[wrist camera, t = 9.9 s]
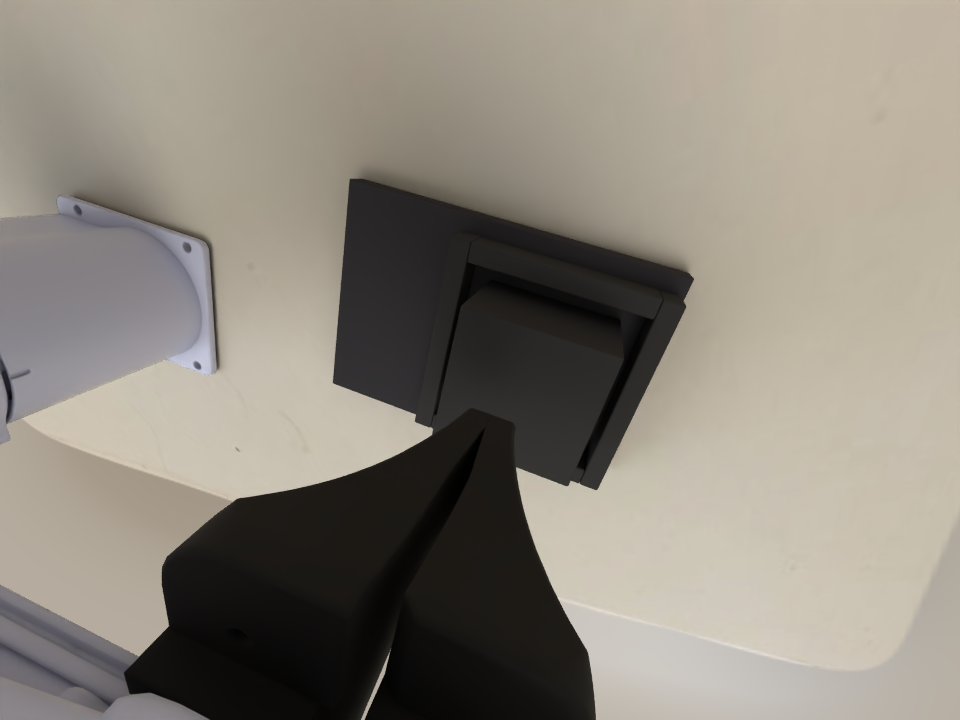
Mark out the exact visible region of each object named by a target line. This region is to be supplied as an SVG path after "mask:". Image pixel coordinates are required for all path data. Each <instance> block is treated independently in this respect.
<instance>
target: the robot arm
mask: <svg viewBox="0 0 960 720" xmlns="http://www.w3.org/2000/svg"><path fill="white" fill-rule="evenodd" d="M56 201H57V207H58V212H59V214H55V215H39V216H23V217H8V218H0V444H2V443H5V442H7V441H9V440H10V439H11V437H10V434H9V432H8V429H7V426H6V424H8V423H11V422H13V421H16V420H18V419H21V418H23V417H26V416H28V415H31V414H33V413H36V412H38V411H40V410H43V409H45V408H48V407H50V406H53V405H55V404H58V403H60V402H62V401H65V400H67V399H70V398H72V397H75V396H77V395H80V394H82V393H85V392H87V391H89V390H92V389H94V388H97V387H99V386H102V385H104V384H107V383H109V382H112V381H114V380H116V379H119V378H121V377H124V376H126V375H129V374H131V373H134V372H136V371H138V370H141V369H143V368H146V367H148V366H151V365H153V364H156V363H158V362H161V361H163V360H168V361H170V362H173V363H176V364H178V365H181V366H183V367H186V368H188V369H191V370H193V371H196V372H199V373H201V374H204V375H207V376H210V375H212V374H214V373H215V372H216V370H217V365H216V349H215V334H214V318H213V302H212V287H211V271H210V256H209V248H208V246H207V244H206V243H205V242H204V241H202V240H200V239H197V238H194V237H191V236H188V235H185V234H182V233H179V232H176V231H173V230H170V229H167V228H164V227H161V226H158V225H155V224H152V223H149V222H146V221H143V220H140V219H137V218H134V217H131V216H128V215H125V214H122V213H119V212H116V211H113V210H111V209H108V208H105V207H102V206H99V205H96V204H93V203H90V202H87V201H84V200H81V199H78V198H75V197H72V196H68V195H61V196H58V197H57V200H56ZM190 246H191V248H190ZM515 430H516V426H515V424H514V423H513V422H510V421H508V420H505V419H502V418H499V417H497V416H494V415H491V414H488V413H486V412H483V411H480V410H477V409H475V408H470V409H468V410H467V411H465V412H464V413H463V414H462V415H460V416H459V417H458V418H457V419H455V420H454V421H452V422H451V423H450V424H448V425H447V426H445V427H444V428H442V429H441V430H439V431H438V432H436V433H435V434H433V435H432V436H430V437H428V438H427V439H425V440H423V441H422V442H420V443H418V444H416V445H414V446H413V447H411V448H409V449H407V450H405V451H404V452H402V453H400V454H398V455H396V456H394V457H392V458H389V459H387V460H385V461H383V462H380V463H378V464H376V465H373V466H371V467H368V468H366V469H363V470H360V471H357V472H355V473H352V474H349V475H346V476H343V477H340V478H337V479H333V480H330V481H326V482H322V483H319V484H315V485H310V486H306V487H302V488H298V489H293V490H288V491H283V492H277V493H271V494H265V495H259V496H253V497H246V498H239V499H236V500H235V501H234V502H233V503H231V504H230V505H228V506H227V507H226V508H224V509H223V510H222V511H220V512H219V513H217V514H216V515H215V516H214V517H213V518H211V519H210V520H209V521H208V522H206V523H205V524H204V525H203V526H202V527H201V528H200V529H199V530H197V531H196V532H195V533H194V534H193V535H191V536H190V538H188V539H187V540H186V541H185V542H183V543H182V544H181V545H180V546H179V547H178V548H176V549H175V550H174V551H173V552H172V553H171V554H170V555H168V556H167V558H166V560H165V562H164V564H163V566H162V588H163V594H164V599H165V605H166V610H167V616H168V621H169V627H168V628H167V629H166V630H165V631H164V632H163V633H162V634H161V635H160V636H159V637H158V638H157V639H156V640H155V641H154V642H153V643H152V644H151V645H150V646H149V647H148V648H147V649H146V650H145V651H144V652H143V654H142V655H141V656H140V657H138V656H137V655H135V654H133V653H130V652H129V651H127V650H125V649H123V648H121V647H119V646H117V645H115V644H113V643H111V642H110V641H108V640H105V639H104V638H102V637H100V636H98V635H96V634H94V633H92V632H90V631H88V630H86V629H85V628H82V627H81V626H79V625H77V624H75V623H73V622H71V621H69V620H67V619H65V618H63V617H61V616H59V615H57V614H56V613H54V612H51V611H50V610H48V609H46V608H44V607H42V606H40V605H38V604H36V603H34V602H32V601H30V600H29V599H27V598H25V597H23V596H21V595H19V594H17V593H15V592H13V591H11V590H9V589H7V588H5V587H4V586H1V585H0V720H361V718H362V716H363V713H364V711H365V708H366V706H367V703H368V701H369V699H370V697H371V694H372V692H373V689H374V687H375V685H376V682H377V680H378V677H379V675H380V673H381V671H382V668H383V665H384V663H385V661H386V659H387V656H388V654H389V652H390V655H389V659H388V663H387V667H386V671H385V675H384V677H383V679H382V681H381V684H380V686H379V688H378V690H377V693H376V695H375V697H374V699H373V702H372V704H371V706H370V708H369V711H368V713H367V716H366V718H365V720H596V713H595V701H594V691H593V682H592V674H591V668H590V662H589V656H588V652H587V650H586V648H585V646H584V645H583V643H582V641H581V640H580V638H579V636H578V635H577V633H576V631H575V629H574V628H573V626H572V624H571V623H570V621H569V619H568V617H567V615H566V614H565V612H564V610H563V608H562V606H561V604H560V602H559V600H558V598H557V596H556V594H555V592H554V590H553V588H552V586H551V583H550V581H549V579H548V576H547V574H546V572H545V569H544V567H543V565H542V562H541V560H540V557H539V555H538V553H537V550H536V547H535V545H534V542H533V539H532V536H531V533H530V530H529V527H528V523H527V520H526V517H525V513H524V509H523V505H522V501H521V496H520V491H519V486H518V480H517V473H516V465H515V454H514V436H515ZM390 649H391V651H390Z"/></svg>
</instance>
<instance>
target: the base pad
mask: <svg viewBox="0 0 960 720" xmlns="http://www.w3.org/2000/svg"><path fill="white" fill-rule="evenodd" d="M491 280H494V281H497V282H501V283H504V284H507V285H510V286H513V287H517V288H520V289H523V290H526V291H529V292H533V293H536V294H539V295H542V296H545V297H549V298H552V299H555V300H558V301H561V302H565V303H568V304H571V305H574V306H577V307H581V308H584V309H587V310H590V311H593V312H597V313H600V314H603V315H606V316H609V317H613V318H616V319H619V320H621V331H622V343H623V354H624V361H623V363H622V365H621V367H620V370H619V372H618V374H617V376H616V379H615V381H614V383H613V386H612V388H611V390H610V392H609V395H608V397H607V399H606V401H605V404H604V406H603V408H602V410H601V413H600V415H599V417H598V420H597V422H596V424H595V426H594V429H593V431H592V433H591V435H590V438H589V440H588V442H587V445H586V447H585V449H584V451H583V454H582V456H581V458H580V460H579V463H578V465H577V467H576V469H575V472H574V474H573V476H572V479H571V481H573V482H576V483H579V482H580V484H581V485H584V486H586V487H589V488H592V489H594V490H597V489H598V488H599V485H600V483H601V481H602V479H603V477H604V475H605V473H606V471H607V469H608V467H609V465H610V463H611V461H612V459H613V457H614V455H615V453H616V451H617V448H618V446H619V444H620V442H621V440H622V438H623V436H624V434H625V432H626V430H627V428H628V426H629V424H630V422H631V420H632V418H633V416H634V414H635V411H636V409H637V407H638V405H639V403H640V401H641V399H642V397H643V395H644V393H645V391H646V389H647V387H648V385H649V383H650V381H651V379H652V377H653V374H654V372H655V370H656V368H657V366H658V364H659V362H660V360H661V358H662V356H663V354H664V352H665V350H666V348H667V346H668V344H669V342H670V340H671V337H672V335H673V333H674V331H675V329H676V327H677V325H678V323H679V321H680V319H681V317H682V315H683V313H684V311H685V309H686V305H685V303H684V302H683V301H684V299H685V297H686V295H687V293H688V291H689V289H690V286H691V284H692V282H693V280H694V278H693V277H692V276H691V275H690V274H689V273H687V272H683V271H680V270H677V269H673V268H670V267H666V266H663V265H659V264H656V263H652V262H649V261H645V260H642V259H638V258H635V257H631V256H628V255H625V254H621V253H618V252H614V251H611V250H607V249H604V248H600V247H597V246H593V245H590V244H586V243H583V242H579V241H576V240H573V239H569V238H566V237H562V236H559V235H555V234H552V233H548V232H545V231H541V230H538V229H534V228H531V227H528V226H524V225H521V224H517V223H514V222H510V221H507V220H503V219H500V218H496V217H493V216H489V215H486V214H482V213H479V212H476V211H472V210H469V209H465V208H462V207H458V206H455V205H451V204H448V203H444V202H441V201H437V200H434V199H430V198H427V197H424V196H420V195H417V194H413V193H410V192H406V191H403V190H399V189H396V188H392V187H389V186H385V185H382V184H378V183H375V182H372V181H368V180H365V179H350V183H349V195H348V207H347V219H346V231H345V243H344V255H343V267H342V280H341V292H340V304H339V316H338V328H337V340H336V352H335V364H334V376H333V383H334V384H336V385H339V386H342V387H344V388H347V389H350V390H352V391H355V392H358V393H360V394H363V395H366V396H369V397H371V398H374V399H377V400H379V401H382V402H385V403H387V404H390V405H393V406H395V407H398V408H401V409H403V410H406V411H409V412H411V413H414V414H416V418H415V422H416V423H419V424H422V425H424V426H427V427H431V428H433V429H434V424H435V420H436V415H437V411H438V407H439V402H440V398H441V393H442V389H443V384H444V380H445V375H446V371H447V366H448V362H449V358H450V353H451V349H452V344H453V340H454V335H455V331H456V326H457V322H458V317H459V313H460V309H461V306H462V305H463V304H464V303H465V302H466V301H467V300H469V299H470V298H471V297H472V296H473V295H474V294H476V293H477V292H478V291H479V290H480V289H481V288H483V287H484V286H485V285H486V284H487V283H488V282H489V281H491Z"/></svg>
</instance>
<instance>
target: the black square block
mask: <svg viewBox="0 0 960 720" xmlns="http://www.w3.org/2000/svg"><path fill="white" fill-rule="evenodd" d="M623 361H624V354H623V343H622V331H621V320H619V319H616V318H613V317H609V316H606V315H603V314H600V313H597V312H593V311H590V310H587V309H584V308H581V307H577V306H574V305H571V304H568V303H565V302H561V301H558V300H555V299H552V298H549V297H545V296H542V295H539V294H536V293H533V292H529V291H526V290H523V289H520V288H517V287H513V286H510V285H507V284H504V283H501V282H497V281H494V280H491V281H489V282H488V283H487V284H486V285H485V286H484V287H483V288H481V289H480V290H479V291H478V292H477V293H476V294H474V295H473V296H472V297H471V298H470V299H469V300H467V301H466V302H465V303H464V304H463V305H462V306H461V309H460V313H459V317H458V322H457V326H456V331H455V335H454V340H453V344H452V349H451V353H450V358H449V362H448V366H447V371H446V375H445V380H444V384H443V389H442V393H441V398H440V402H439V407H438V411H437V415H436V420H435V424H434V429H433V433H432V435H433V434H435V433H436V432H438V431H439V430H441V429H442V428H444V427H445V426H447V425H448V424H450V423H451V422H452V421H454V420H455V419H457V418H458V417H459V416H460V415H462V414H463V413H464V412H465V411H467V410H468V409H470V408H475V409H477V410H480V411H483V412H486V413H488V414H491V415H494V416H497V417H499V418H502V419H505V420H508V421H510V422H513V423H514V424H515V426H516V430H515V436H514V454H515V465H516V467H517V468H520V469H523V470H525V471H528V472H530V473H533V474H536V475H538V476H541V477H544V478H546V479H549V480H552V481H554V482H557V483H559V484H562V485H565V486H568V485H569V483H570V481H571V479H572V476H573V474H574V472H575V469H576V467H577V465H578V463H579V460H580V458H581V456H582V454H583V451H584V449H585V447H586V445H587V442H588V440H589V438H590V435H591V433H592V431H593V429H594V426H595V424H596V422H597V420H598V417H599V415H600V413H601V410H602V408H603V406H604V404H605V401H606V399H607V397H608V395H609V392H610V390H611V388H612V386H613V383H614V381H615V379H616V376H617V374H618V372H619V370H620V367H621V365H622V363H623Z"/></svg>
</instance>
